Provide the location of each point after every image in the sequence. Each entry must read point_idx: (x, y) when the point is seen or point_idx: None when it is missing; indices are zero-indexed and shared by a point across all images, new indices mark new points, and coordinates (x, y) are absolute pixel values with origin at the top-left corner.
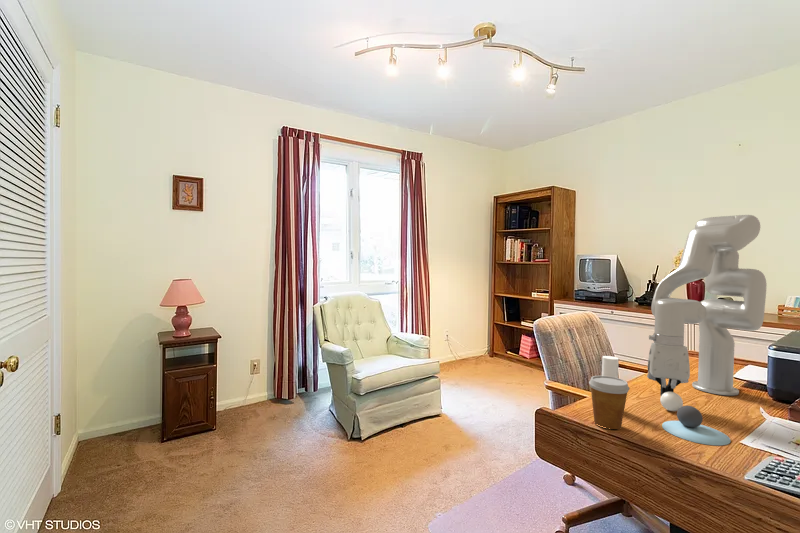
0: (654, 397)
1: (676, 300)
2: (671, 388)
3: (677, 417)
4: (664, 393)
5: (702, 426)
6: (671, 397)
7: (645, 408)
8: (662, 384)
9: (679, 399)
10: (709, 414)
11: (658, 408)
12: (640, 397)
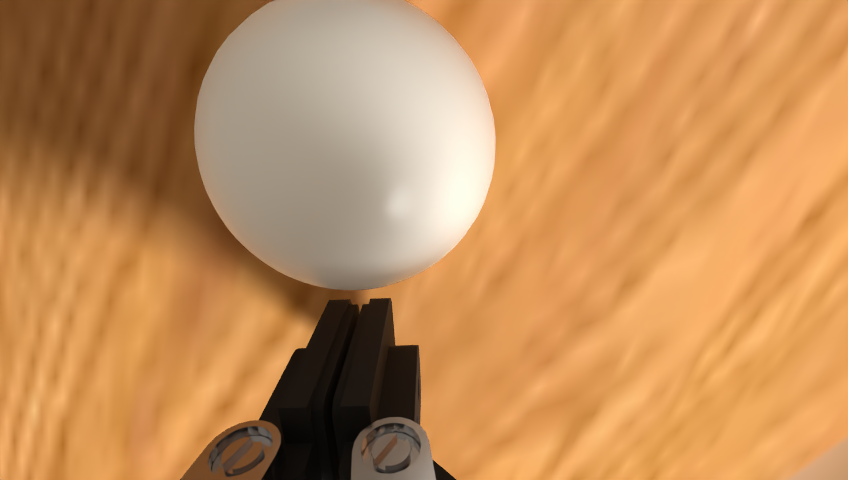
0: None
1: None
2: (282, 422)
3: None
4: (450, 177)
5: None
6: (364, 21)
7: (638, 95)
8: (422, 463)
9: (233, 32)
10: (25, 181)
11: None
12: (555, 420)
